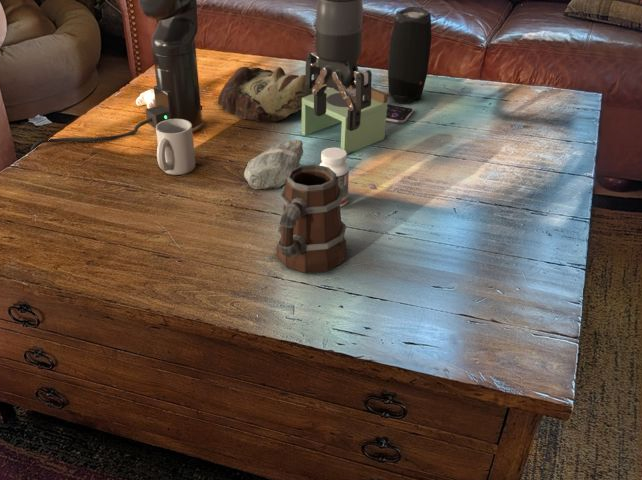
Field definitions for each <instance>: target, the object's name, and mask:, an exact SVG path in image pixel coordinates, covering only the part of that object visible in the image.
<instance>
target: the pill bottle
mask: <svg viewBox="0 0 642 480" xmlns="http://www.w3.org/2000/svg"><path fill="white" fill-rule="evenodd" d="M320 155H321V156H320V160H321V162H320V163H319V165H321V166H325V167H329V168H330V169H331V170H332V171H333V172H334V173H336V176H337V177H338V186H339V187H340V188H341V189H342V190H343V198H342V201H341V204H340V208H341V207H344V206H345V205H346V204H347V202H348V201H349V179H350V166H349V164H348V163H347V160H348V154H347V152H346V151H345V150H343V149H341V147H328V148H324V149H323V150H322V151H321V154H320Z"/></svg>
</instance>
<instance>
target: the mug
mask: <svg viewBox="0 0 642 480" xmlns="http://www.w3.org/2000/svg"><path fill="white" fill-rule="evenodd" d="M342 198H343V190H342V189H341V188H340V187H339V186H338V177H337V176H336V173H334V172H333V171H332V170H331V169H330V168H329V167H325V166H321V165H320V164H317V163H316V164H315V163H314V164H305V165H304V164H303V165H298V166H297V168H295V169H293V170H291V171H290V173H289V175H288V177H287V180H286V183H285V184H284V185H283V187H282V190H281V192H280V194H279V201H280V202H281V203H282V204H283V207H282V208H283V210H282V213H281V218H280V221H279V224H278V229H277V231H276V236H277V237H278V238H279V241H278V244H277V246H276V257H277V258H278V259H279V261H280V262H281V263H282V264H283V265H284V267H285V268H287V269H291V270H294V271H298V272H301V273H304V274H309V273H320V272H329V271H330V270H332V269H334V268H335V267H337V266H339V265H340V264H342V263H344V260H345V256H346V251H347V241H346V238H345V234H346V230H347V226H346V224H345V223H344V222H343V221H342V215H341V207H340V204H341V201H342Z"/></svg>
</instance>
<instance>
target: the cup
mask: <svg viewBox="0 0 642 480" xmlns="http://www.w3.org/2000/svg"><path fill="white" fill-rule="evenodd" d="M155 134H156V140H157V147H156V161H157V164H158V167H159V168H160V170H162V171H163V172H164V173H166V174H168V175H174V176H179V175H180V176H181V175H186V174H189V173H190V172H192V171H193V170H194V169H195V168H196V154H195V153H196V152H195V145H194V143H195V142H194V132H193V133H192V125H191V123H190V122H189V121H187V120H184V119H169V120H165V121H162V122H160V123H158V124H157V125H156V128H155Z"/></svg>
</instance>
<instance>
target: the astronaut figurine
mask: <svg viewBox="0 0 642 480" xmlns="http://www.w3.org/2000/svg"><path fill="white" fill-rule="evenodd" d="M135 104H136V106H138V107H142V106H145V105H146V108H147V109H149V108H153V107H156V103H155V95H154V88H151V89H148V90H145V91H143V92H141V93H140V94H139V96H138V97H137V98H136V100H135Z"/></svg>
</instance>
